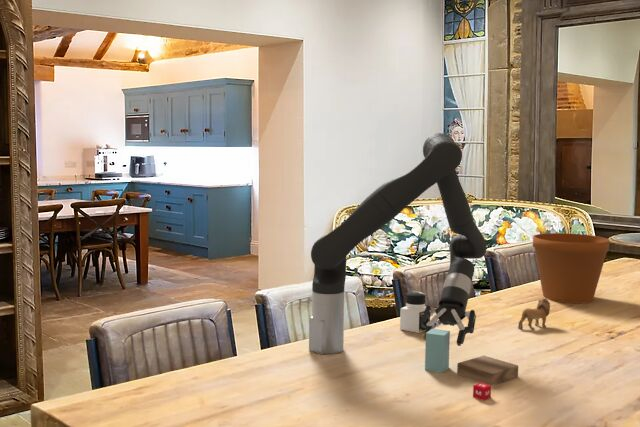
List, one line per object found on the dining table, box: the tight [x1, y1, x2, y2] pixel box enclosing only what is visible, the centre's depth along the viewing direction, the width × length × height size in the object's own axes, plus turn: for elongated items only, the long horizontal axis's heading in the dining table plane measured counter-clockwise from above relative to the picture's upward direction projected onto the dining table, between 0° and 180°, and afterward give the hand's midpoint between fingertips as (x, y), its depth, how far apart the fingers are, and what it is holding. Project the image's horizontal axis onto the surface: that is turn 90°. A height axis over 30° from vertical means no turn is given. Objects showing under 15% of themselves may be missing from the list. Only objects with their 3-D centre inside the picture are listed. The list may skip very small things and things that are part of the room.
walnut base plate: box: [456, 355, 519, 387], centre depth 190 cm, size 11×11×3 cm
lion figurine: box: [517, 297, 551, 331], centre depth 239 cm, size 15×5×9 cm, turn 131°
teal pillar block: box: [424, 328, 451, 373], centre depth 195 cm, size 5×5×10 cm
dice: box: [472, 382, 492, 401], centre depth 174 cm, size 3×3×3 cm
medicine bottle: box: [399, 291, 431, 334], centre depth 234 cm, size 7×7×12 cm
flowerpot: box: [532, 232, 610, 304], centre depth 284 cm, size 28×28×24 cm
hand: (442, 342), depth 195 cm, fingers open, 8 cm apart
